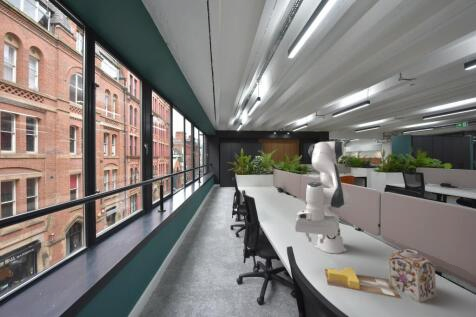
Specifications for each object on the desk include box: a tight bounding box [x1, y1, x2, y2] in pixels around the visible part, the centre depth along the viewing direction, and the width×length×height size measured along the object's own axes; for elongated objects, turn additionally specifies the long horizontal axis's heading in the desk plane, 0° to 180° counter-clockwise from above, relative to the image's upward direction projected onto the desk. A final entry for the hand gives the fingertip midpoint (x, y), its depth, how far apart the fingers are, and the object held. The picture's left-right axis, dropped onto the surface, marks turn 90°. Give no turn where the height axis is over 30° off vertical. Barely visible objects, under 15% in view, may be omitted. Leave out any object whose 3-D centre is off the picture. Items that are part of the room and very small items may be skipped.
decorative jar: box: [388, 248, 437, 304], centre depth 86 cm, size 12×12×18 cm
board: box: [324, 268, 403, 300], centre depth 90 cm, size 14×28×1 cm, turn 71°
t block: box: [327, 266, 360, 289], centre depth 93 cm, size 12×12×3 cm
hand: (315, 242), depth 97 cm, fingers open, 4 cm apart
